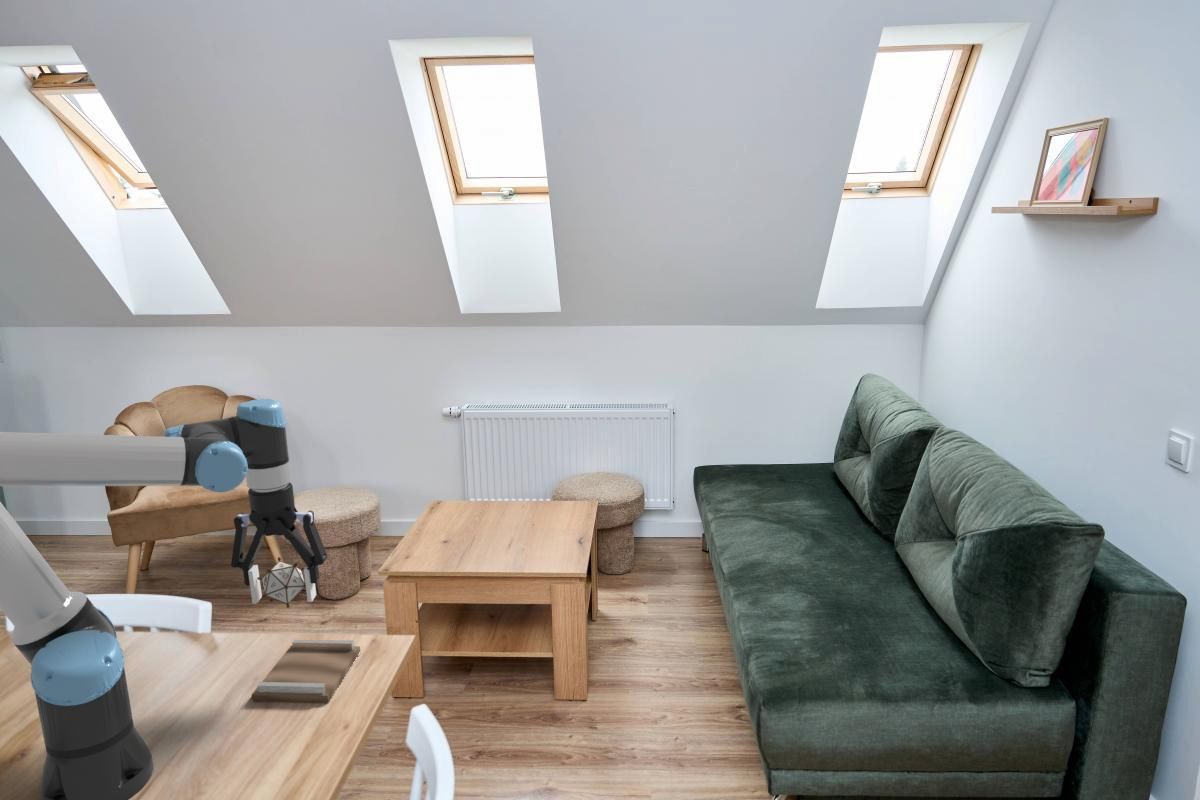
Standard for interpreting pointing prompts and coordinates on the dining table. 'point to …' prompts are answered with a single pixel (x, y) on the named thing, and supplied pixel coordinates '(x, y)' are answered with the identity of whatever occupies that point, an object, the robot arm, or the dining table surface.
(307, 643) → the loading pallet
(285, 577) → the game die
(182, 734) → the dining table surface
